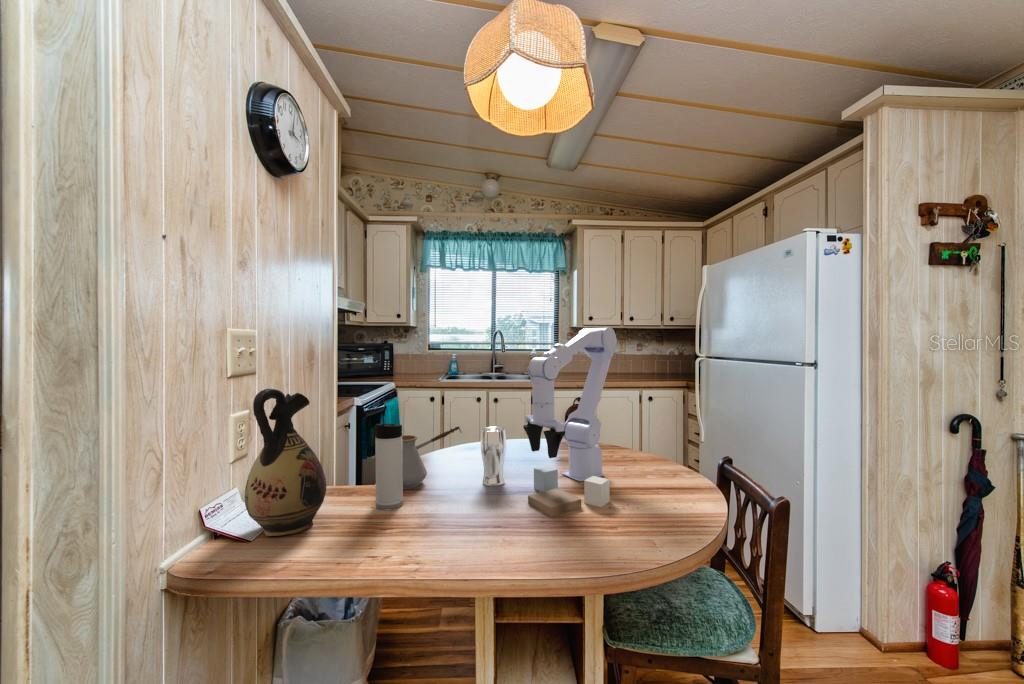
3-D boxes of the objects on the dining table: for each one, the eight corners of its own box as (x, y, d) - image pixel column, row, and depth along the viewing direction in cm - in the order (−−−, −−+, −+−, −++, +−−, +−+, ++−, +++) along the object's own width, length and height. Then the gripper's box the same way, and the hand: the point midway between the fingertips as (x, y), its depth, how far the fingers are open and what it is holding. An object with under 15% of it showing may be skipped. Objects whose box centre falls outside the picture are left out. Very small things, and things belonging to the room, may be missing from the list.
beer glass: (505, 487, 116) (505, 431, 116) (479, 487, 116) (479, 431, 116) (506, 478, 123) (506, 426, 123) (482, 478, 123) (481, 426, 123)
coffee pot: (384, 494, 111) (383, 436, 111) (383, 480, 122) (383, 427, 122) (465, 485, 118) (465, 430, 117) (458, 472, 129) (458, 422, 128)
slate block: (547, 485, 117) (547, 465, 117) (557, 490, 113) (557, 469, 113) (533, 488, 115) (533, 468, 115) (544, 493, 111) (543, 472, 111)
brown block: (557, 497, 109) (557, 488, 109) (581, 509, 101) (581, 499, 101) (528, 505, 104) (528, 495, 104) (550, 518, 97) (550, 507, 97)
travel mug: (369, 508, 102) (368, 423, 102) (389, 498, 108) (388, 419, 108) (389, 512, 99) (388, 426, 99) (408, 503, 105) (407, 421, 105)
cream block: (592, 497, 108) (592, 475, 108) (609, 501, 105) (609, 479, 105) (584, 503, 104) (584, 480, 104) (601, 507, 102) (601, 484, 102)
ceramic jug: (291, 508, 102) (289, 382, 102) (342, 518, 96) (340, 384, 96) (219, 540, 87) (216, 391, 86) (274, 554, 81) (271, 394, 80)
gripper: (515, 400, 118) (516, 450, 118) (547, 407, 105) (548, 463, 106) (536, 398, 121) (537, 446, 122) (570, 405, 109) (570, 458, 109)
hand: (543, 454), depth 114 cm, fingers open, 7 cm apart
